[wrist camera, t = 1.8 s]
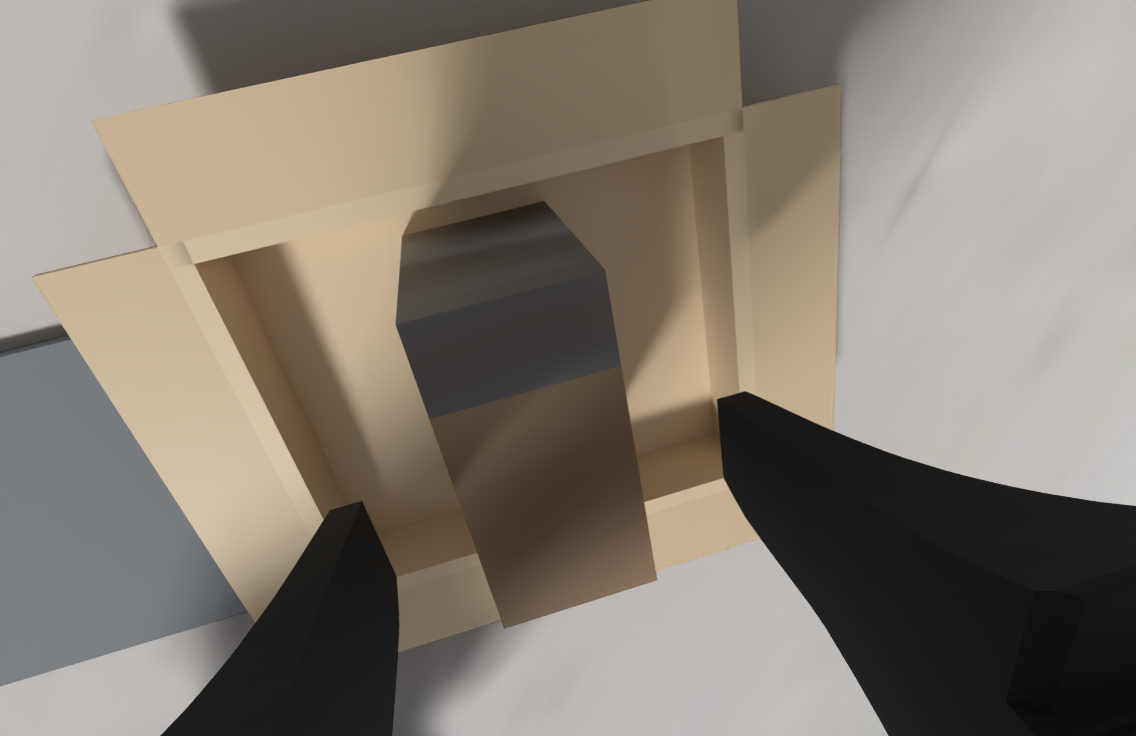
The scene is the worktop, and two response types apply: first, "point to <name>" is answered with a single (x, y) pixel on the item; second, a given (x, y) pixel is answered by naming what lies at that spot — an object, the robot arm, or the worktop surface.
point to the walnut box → (527, 406)
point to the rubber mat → (87, 525)
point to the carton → (437, 198)
